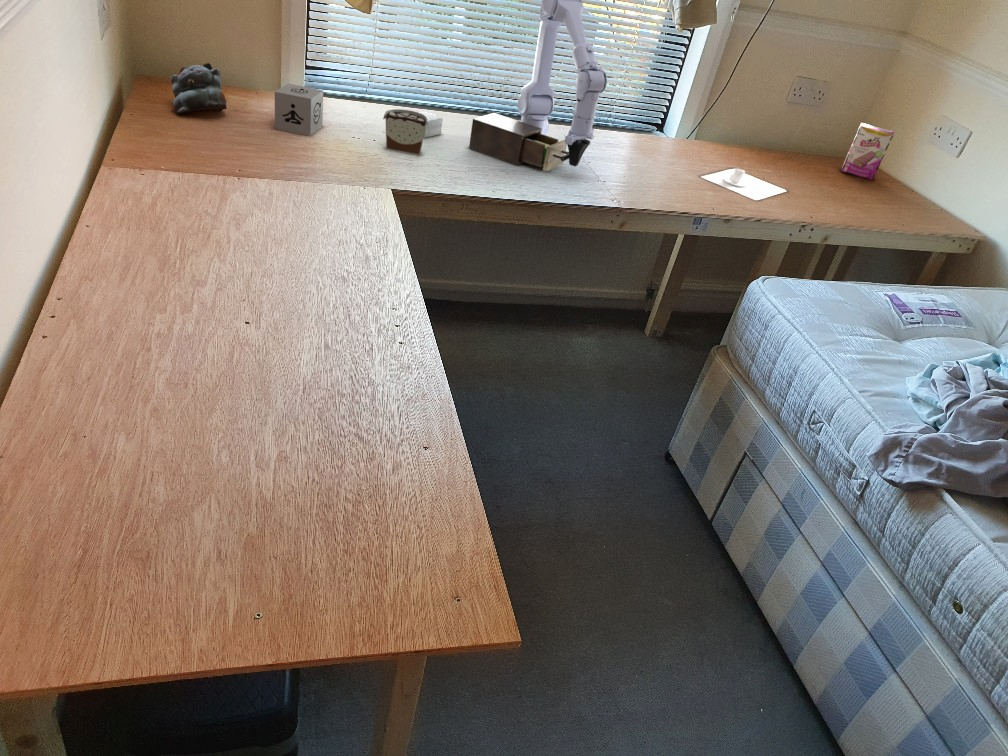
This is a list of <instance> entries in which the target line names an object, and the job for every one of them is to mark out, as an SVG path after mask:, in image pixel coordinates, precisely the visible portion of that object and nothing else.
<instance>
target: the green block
mask: <svg viewBox="0 0 1008 756" xmlns="http://www.w3.org/2000/svg"><path fill="white" fill-rule="evenodd" d="M533 141H536V142H538V143H541V144H544V145H545V150H544V155H543V160H542V162H543V163H544V162H545V156H546V151H547V147H548V146H550V145H549V144H546V143H543V142H540V141H537V140H533Z"/></svg>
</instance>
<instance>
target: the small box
mask: <svg viewBox="0 0 1008 756" xmlns="http://www.w3.org/2000/svg"><path fill="white" fill-rule="evenodd" d="M417 112H418V113H420V114H423V115H424V116H426V117H427V120H428V128H427V124H426V128H425V133H424V138H423V139H425V138H429V137H433V136H437V135H442V131H443V130H442V128H443V119H444V118H443V117H442V116H440V115H438V114H436V113H435V114H434V113H431V112H429V111H426V110H419V111H417Z"/></svg>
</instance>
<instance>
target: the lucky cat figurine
mask: <svg viewBox="0 0 1008 756" xmlns="http://www.w3.org/2000/svg"><path fill="white" fill-rule="evenodd" d="M169 78H170V82H171V85H172V86H171V88H172V93H173V95H174V99H173V101H172V106H173V109H174V111H175V113H176V114H178V115H181V114H184V113H189V112H190V113H191V112H199V111H215V112H223V110H227V108H228V107H227V99H226V96H225V94H224V93H223V89H222V80H221V79H222V75H221V71H220V69H219V68H216V67H215V68H213V66H212V64H211V63H210V62H206V63H204V64H203V65H199V64H193V65H190V66H186V67H184V66H183V67H181V68H180V70H179V72H178V73H177V74H172V76H169Z"/></svg>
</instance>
